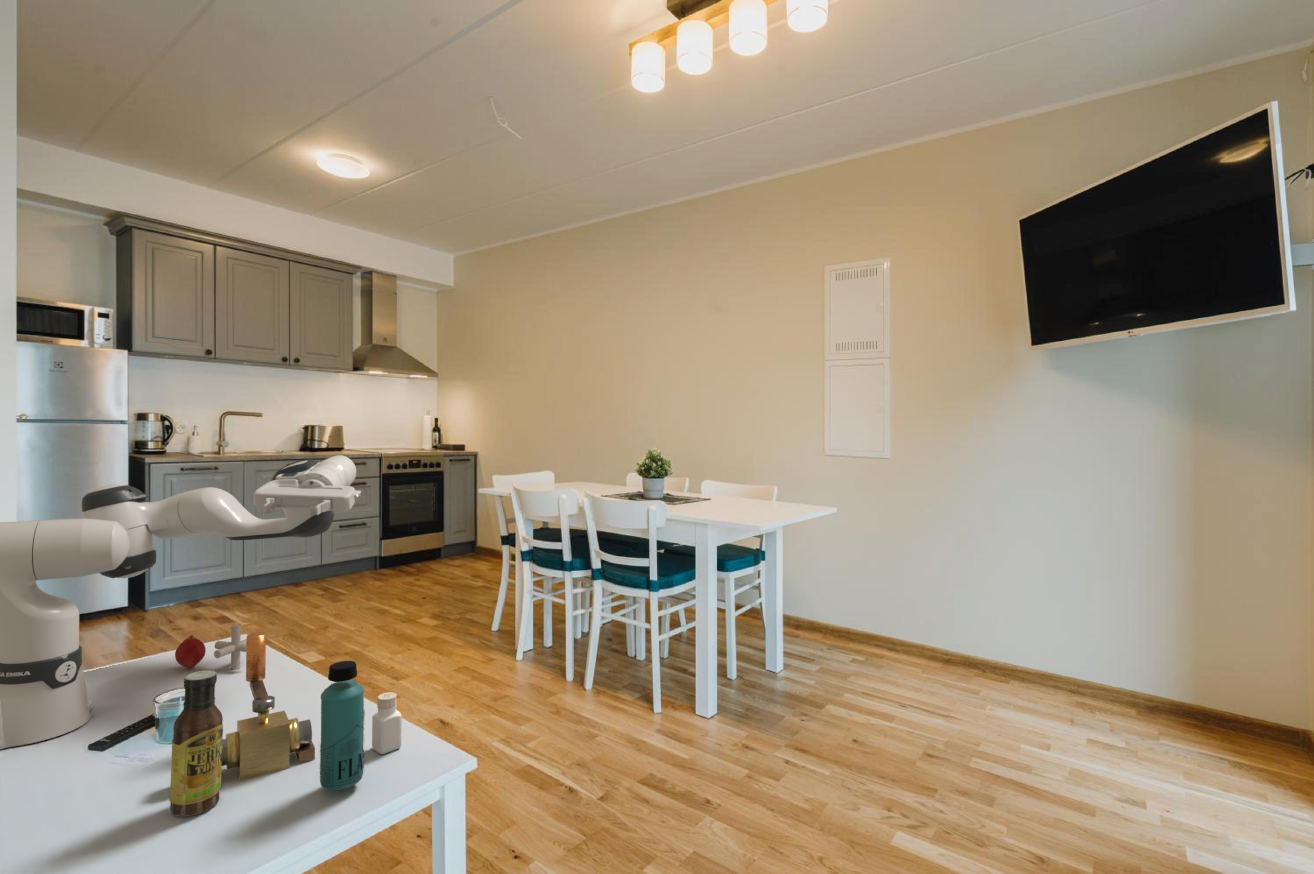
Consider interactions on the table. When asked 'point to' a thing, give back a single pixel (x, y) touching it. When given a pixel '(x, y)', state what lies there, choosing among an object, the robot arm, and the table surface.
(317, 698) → the table surface
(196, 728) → the sauce bottle
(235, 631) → the pipe connector
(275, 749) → the ball valve
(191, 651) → the onion
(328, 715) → the beverage bottle
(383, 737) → the pepper shaker
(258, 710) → the crank handle
